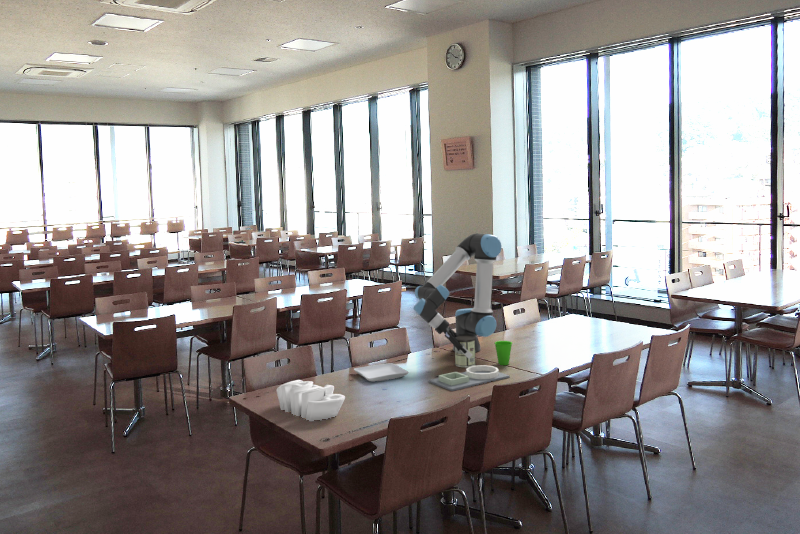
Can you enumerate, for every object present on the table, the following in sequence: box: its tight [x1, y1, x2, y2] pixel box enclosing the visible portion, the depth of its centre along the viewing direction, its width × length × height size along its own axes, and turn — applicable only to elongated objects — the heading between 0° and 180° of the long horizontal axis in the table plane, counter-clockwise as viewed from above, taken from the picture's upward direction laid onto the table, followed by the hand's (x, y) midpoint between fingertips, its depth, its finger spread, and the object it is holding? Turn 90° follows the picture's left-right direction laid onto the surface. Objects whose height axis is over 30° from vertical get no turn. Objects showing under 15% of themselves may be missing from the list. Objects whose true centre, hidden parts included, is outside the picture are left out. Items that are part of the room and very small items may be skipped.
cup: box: [494, 340, 513, 366], centre depth 340 cm, size 9×9×11 cm
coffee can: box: [454, 336, 476, 368], centre depth 341 cm, size 10×10×14 cm
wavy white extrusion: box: [276, 379, 346, 422], centre depth 277 cm, size 35×16×11 cm, turn 41°
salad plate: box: [353, 362, 410, 383], centre depth 326 cm, size 21×21×3 cm
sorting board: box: [428, 364, 510, 392], centre depth 315 cm, size 18×34×4 cm, turn 123°
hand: (471, 354), depth 341 cm, fingers closed on coffee can, 10 cm apart
